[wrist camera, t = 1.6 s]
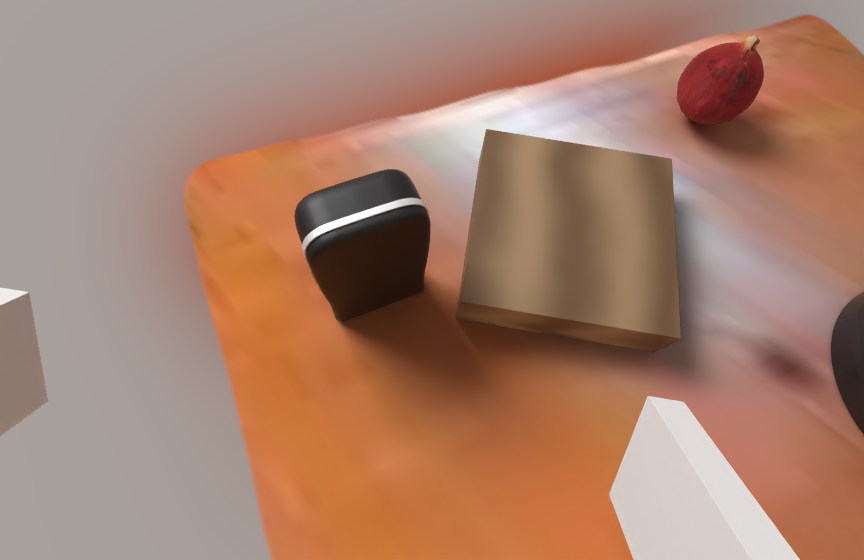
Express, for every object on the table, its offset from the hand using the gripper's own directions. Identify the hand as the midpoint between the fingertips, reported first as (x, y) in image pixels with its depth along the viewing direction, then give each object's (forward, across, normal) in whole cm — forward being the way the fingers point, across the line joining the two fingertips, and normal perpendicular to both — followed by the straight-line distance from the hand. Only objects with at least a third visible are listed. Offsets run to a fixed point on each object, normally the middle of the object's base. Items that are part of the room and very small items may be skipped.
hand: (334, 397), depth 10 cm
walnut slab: (+26, +11, -3) cm, 29 cm away
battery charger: (+23, -2, -7) cm, 24 cm away
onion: (+36, +22, +8) cm, 43 cm away
